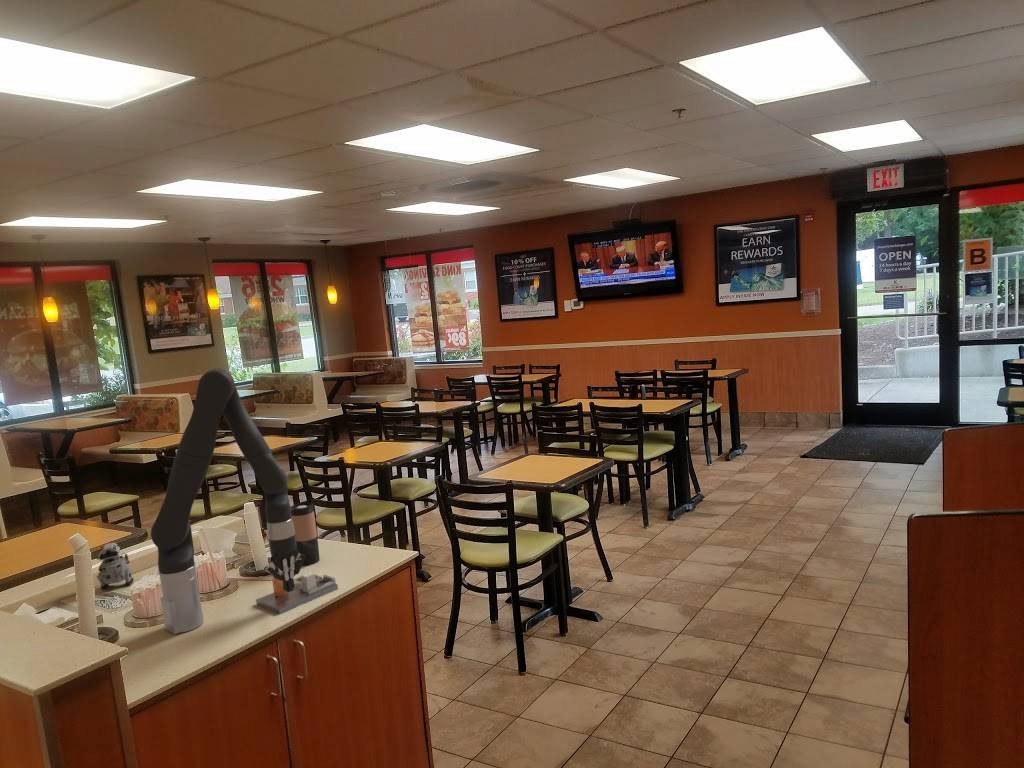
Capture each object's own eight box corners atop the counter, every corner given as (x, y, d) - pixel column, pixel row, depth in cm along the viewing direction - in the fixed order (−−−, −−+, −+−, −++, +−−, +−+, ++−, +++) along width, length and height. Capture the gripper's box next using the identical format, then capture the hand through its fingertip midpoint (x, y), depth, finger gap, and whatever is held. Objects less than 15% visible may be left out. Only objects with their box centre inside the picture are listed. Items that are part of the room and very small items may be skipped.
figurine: (94, 597, 234) (86, 553, 232) (107, 584, 245) (100, 541, 243) (124, 592, 235) (117, 548, 233) (136, 579, 247) (129, 537, 245)
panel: (279, 614, 207) (278, 603, 206) (256, 604, 216) (255, 593, 215) (338, 588, 222) (336, 578, 221) (314, 580, 230) (312, 570, 230)
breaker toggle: (308, 593, 216) (306, 577, 215) (302, 591, 218) (300, 575, 217) (316, 589, 218) (314, 573, 218) (311, 587, 220) (309, 571, 220)
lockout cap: (278, 597, 215) (276, 579, 214) (271, 594, 218) (269, 576, 217) (290, 592, 218) (288, 574, 217) (283, 590, 221) (281, 572, 220)
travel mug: (323, 557, 252) (316, 501, 249) (315, 565, 244) (308, 508, 241) (302, 558, 252) (295, 503, 250) (294, 566, 245) (286, 509, 242)
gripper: (267, 543, 203) (276, 602, 206) (308, 529, 213) (315, 585, 215) (254, 539, 208) (262, 596, 211) (294, 525, 218) (302, 580, 220)
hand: (289, 590), depth 213 cm, fingers closed
